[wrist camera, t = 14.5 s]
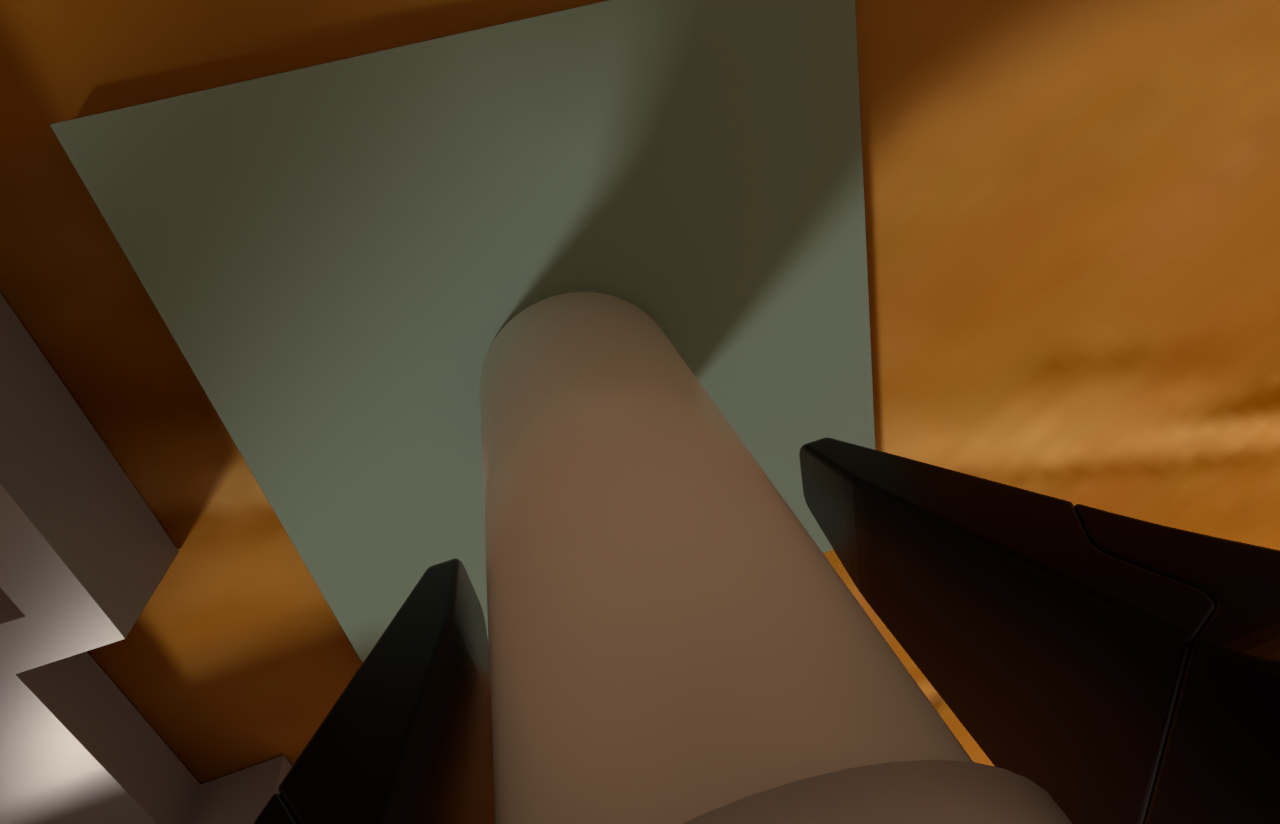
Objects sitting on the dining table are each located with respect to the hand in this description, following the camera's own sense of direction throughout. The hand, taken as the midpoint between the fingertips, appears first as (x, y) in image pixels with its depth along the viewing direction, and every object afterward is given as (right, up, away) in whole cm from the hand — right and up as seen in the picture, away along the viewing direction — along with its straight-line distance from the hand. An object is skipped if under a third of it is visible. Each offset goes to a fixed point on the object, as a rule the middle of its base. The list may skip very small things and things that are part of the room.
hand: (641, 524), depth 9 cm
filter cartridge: (-1, +2, +4) cm, 5 cm away
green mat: (-1, +2, +5) cm, 6 cm away
